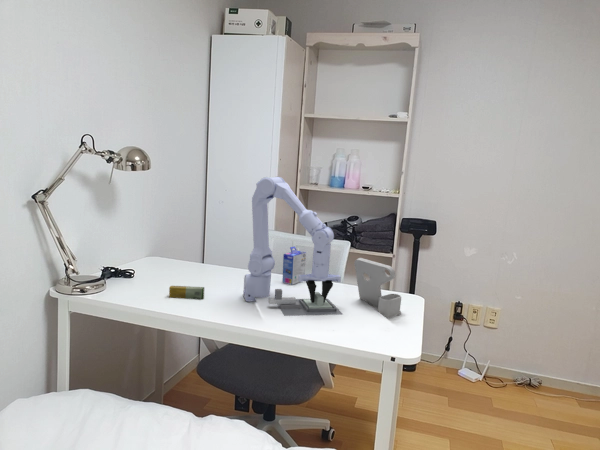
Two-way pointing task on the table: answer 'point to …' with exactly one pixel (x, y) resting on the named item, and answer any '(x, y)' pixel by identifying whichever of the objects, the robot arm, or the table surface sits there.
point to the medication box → (186, 292)
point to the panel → (303, 309)
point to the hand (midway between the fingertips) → (317, 301)
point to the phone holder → (376, 287)
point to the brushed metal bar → (281, 298)
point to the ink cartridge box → (293, 266)
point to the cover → (317, 302)
